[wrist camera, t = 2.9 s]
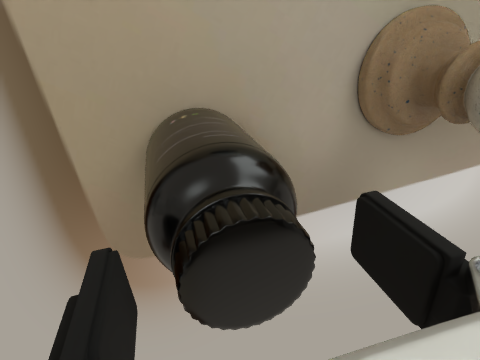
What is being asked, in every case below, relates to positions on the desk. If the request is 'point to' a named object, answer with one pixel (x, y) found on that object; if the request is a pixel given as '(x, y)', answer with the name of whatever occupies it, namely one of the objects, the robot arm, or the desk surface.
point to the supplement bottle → (224, 221)
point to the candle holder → (421, 73)
